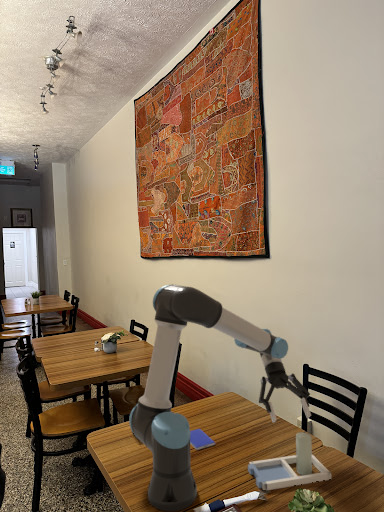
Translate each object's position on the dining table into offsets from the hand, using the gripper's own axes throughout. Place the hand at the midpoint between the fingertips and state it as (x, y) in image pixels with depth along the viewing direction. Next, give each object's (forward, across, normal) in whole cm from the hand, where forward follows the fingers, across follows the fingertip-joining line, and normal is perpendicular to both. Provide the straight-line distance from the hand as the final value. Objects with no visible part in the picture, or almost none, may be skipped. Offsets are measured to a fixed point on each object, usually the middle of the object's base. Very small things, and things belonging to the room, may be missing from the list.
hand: (292, 418), depth 132 cm
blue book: (-4, +31, -24) cm, 39 cm away
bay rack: (+16, +6, -3) cm, 18 cm away
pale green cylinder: (+16, +1, -3) cm, 16 cm away
